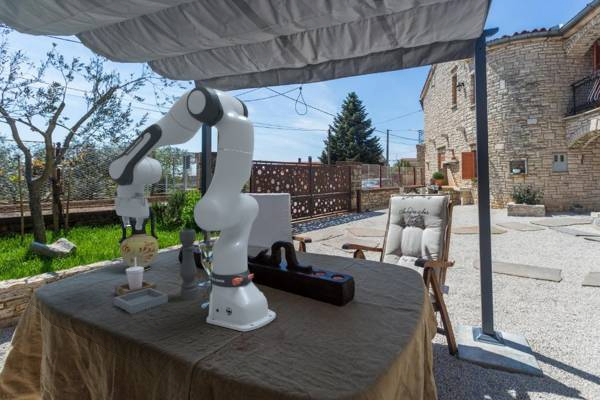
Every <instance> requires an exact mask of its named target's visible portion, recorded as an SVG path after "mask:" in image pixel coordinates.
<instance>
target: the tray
mask: <svg viewBox="0 0 600 400" xmlns="http://www.w3.org/2000/svg"><path fill="white" fill-rule="evenodd" d="M168 296H169V295H168V294H167V293H164V292H162V291H159V290H157V289H156V290H155V289H152V288H147V289H144V290H140V291H136V292H133V293H129V294H126V295H122V296H118V295H117V296H115V297H114V306H115V307H118V308H119V307H120V309H121V308H122V309H121V310H123V309H124V311H125V310H126V311H125V312H127V313H129V314H131V315H134V314H137V313H139V311H140V312H143V311H145V309H146V310H149V309H151V307H152V308H154V306H155V307H158V306H161V305H164V304H168V302H169V297H168ZM157 305H158V306H157ZM148 308H149V309H148ZM142 310H143V311H142ZM136 312H137V313H136ZM133 313H134V314H133Z"/></svg>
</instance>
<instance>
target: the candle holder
mask: <svg viewBox="0 0 600 400" xmlns="http://www.w3.org/2000/svg"><path fill="white" fill-rule="evenodd" d="M178 236H179V239H178V240H179V242H180V243H181V246H180V251H181V252H182V261H181V265H180V271H179V275H180V277H181V279H182V283H181V285H180V287H181V288H180V290H179V291H180V299H181V300H182V301H191V300H194V299H197V298H198V297H199V288H198V286H197V285H198V283H197V281H196V277H197V276H198V269H197V266H196V262H195V257H194V255H195V254H194V250H195V249H196V246H195V245H194V244H195V241H196V239H197V238H196V237H197V236H196V230H195V229H181V230H179V231H178Z"/></svg>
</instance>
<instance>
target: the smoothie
mask: <svg viewBox="0 0 600 400" xmlns="http://www.w3.org/2000/svg"><path fill="white" fill-rule="evenodd" d="M134 259H135V267H131V268H130V267H129V268H126V269H125V273H126V275H127V281H128V282H127V283H129V288H130V290H133V289H137V288H140V287H142V279H143V277H144V272H145V271H144V267H136V257H134Z"/></svg>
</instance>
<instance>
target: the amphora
mask: <svg viewBox="0 0 600 400" xmlns="http://www.w3.org/2000/svg"><path fill="white" fill-rule="evenodd" d="M155 216H156V215H155V212H154V211H153V210H152V209H151V208H149V217H148V218H143V223H142V229H141V230H136V229H135V228H136V227H135V225H136V223H137V221H136V218H133V217H129V223H130V228H131V232H130V235H129V236H127V228H125V227H124V222H123V220H122V216H120V217H119V221H120V225H121V226H120V227H121V234H122V237H121V238H120V239H119V240H118V244H120V245H119V255H120V257H121V259H122V261H123V262H124V263H125V264H126V265H127V266H128V267H129V268H131V267H135V259H134V257H136V267H144V270H147V271H149V270H148V269H150V268H151V269H152V267H151V264H152V263H153V262H154V261H155V260H156V258H157V255H158V253H159V242H158V240H159V237H158V236H157V234H155V233H156V231H155V230H156V228H155V225H156V223H155V222H156V217H155ZM149 220H150V234H149V233H148V232H147V230H146V225H147V224H148V222H149ZM151 269H150V270H151Z"/></svg>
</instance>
